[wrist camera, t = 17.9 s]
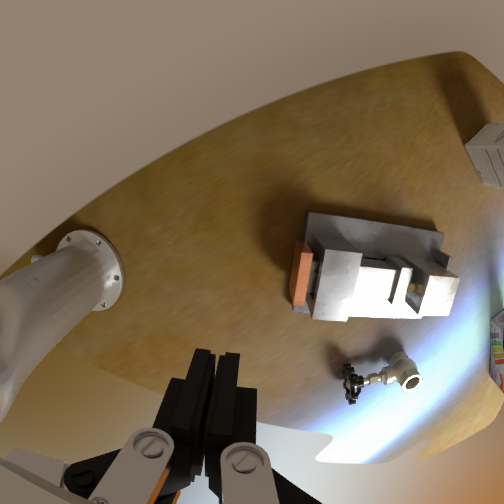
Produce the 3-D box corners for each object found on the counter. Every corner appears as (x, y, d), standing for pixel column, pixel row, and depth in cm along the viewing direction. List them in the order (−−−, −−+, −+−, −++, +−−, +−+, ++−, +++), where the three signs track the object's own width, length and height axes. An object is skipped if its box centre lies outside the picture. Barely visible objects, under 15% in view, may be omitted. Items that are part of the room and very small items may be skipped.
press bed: (291, 305, 39) (298, 338, 31) (306, 210, 36) (319, 222, 27) (415, 312, 39) (441, 340, 31) (437, 230, 36) (471, 245, 28)
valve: (410, 340, 41) (342, 356, 42) (427, 363, 34) (352, 383, 35) (405, 370, 43) (341, 386, 43) (419, 394, 36) (350, 413, 37)
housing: (388, 291, 36) (410, 315, 29) (396, 256, 35) (422, 274, 28) (423, 293, 36) (448, 315, 29) (432, 260, 35) (460, 278, 28)
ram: (288, 286, 36) (293, 305, 31) (295, 240, 35) (301, 252, 30) (387, 294, 36) (402, 311, 31) (397, 252, 35) (415, 264, 30)
